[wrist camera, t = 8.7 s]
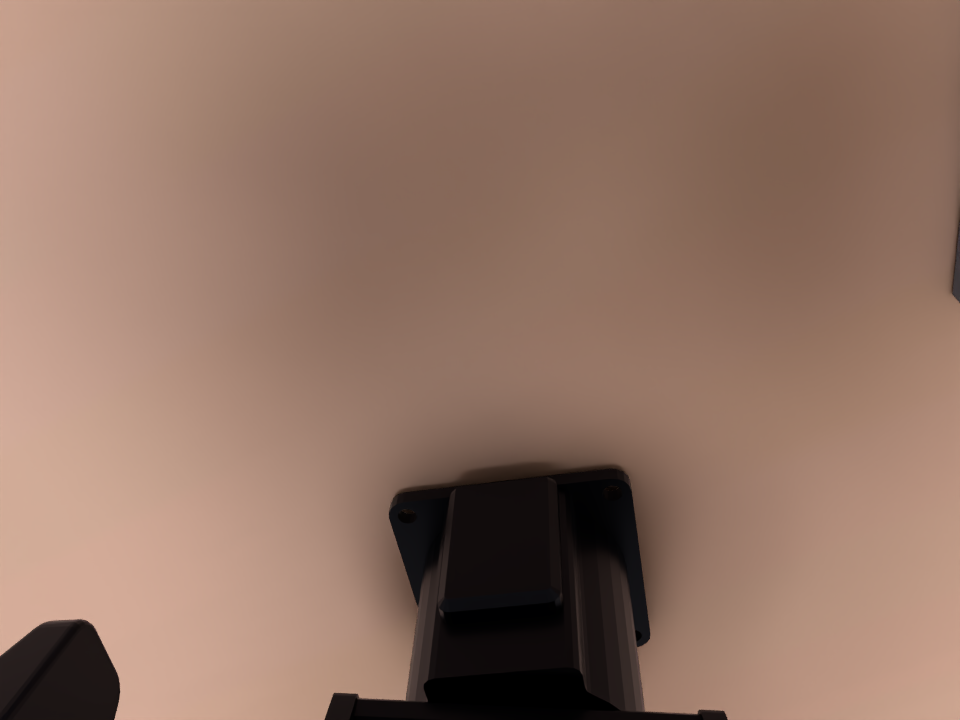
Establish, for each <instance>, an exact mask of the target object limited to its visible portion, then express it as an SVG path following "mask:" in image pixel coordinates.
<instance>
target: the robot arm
mask: <svg viewBox="0 0 960 720" xmlns="http://www.w3.org/2000/svg"><path fill="white" fill-rule="evenodd" d="M609 486H617V487H619V488H618V489H616V490H613V491H608V490H606V489H605V488H606V487H609ZM404 509H408V510H412V511H414V513H405V512H403V511H402V510H404ZM389 519H390V522H391V525H392V528H393V532H394V535H395V538H396V541H397V544H398V547H399V550H400V553H401V556H402V559H403V562H404V566H405V569H406V572H407V575H408V578H409V581H410V584H411V587H412V590H413V593H414V597H415V600H416V603H417V606H418V614H417V621H416V628H415V635H414V643H413V650H412V657H411V664H410V672H409V679H408V686H407V693H406V701H405V700H384V699H362V698H359V695H358V694H347V693H334V694H333V697H332V700H331V703H330V705H329V708H328V711H327V714H326V717H325V720H728V719H727V717H726V714H725V712H724V711H714V710H699V711H698V714H685V713H664V712H645V707H644V699H643V691H642V683H641V675H640V668H639V660H638V652H637V647H639V646H642V645H644V644H645V643H647V642H648V640H649V639H650V628H649V620H648V613H647V605H646V597H645V590H644V582H643V574H642V567H641V559H640V551H639V543H638V536H637V528H636V520H635V513H634V505H633V497H632V490H631V483H630V479H629V477H628V475H627V474H625V473H624V472H623V471H621V470H618V469H603V470H594V471H586V472H577V473H568V474H560V475H551V476H543V477H534V478H525V479H517V480H508V481H499V482H491V483H482V484H474V485H465V486H456V487H448V488H439V489H431V490H422V491H413V492H405V493H401V494H398V495H397V496H395V497H394V498H393V500H392V502H391V505H390V510H389ZM119 696H120V683H119V678H118V674H117V672H116V670H115V668H114V666H113V664H112V662H111V660H110V658H109V656H108V654H107V652H106V650H105V647H104V645H103V643H102V641H101V639H100V637H99V635H98V633H97V631H96V629H95V628H94V626H93V625H92V624H90V623H89V622H88V621H86V620H82V619H77V620H58V621H48V622H45V623H43V624H41V625H39V626H38V627H36V628H35V629H33V630H32V631H31V632H30V633H28V634H27V635H26V636H25V637H23V638H22V639H21V640H20V641H18V642H17V643H16V644H15V645H13V646H12V647H11V648H10V649H9V650H7V651H6V652H5V653H4V654H2V655H1V656H0V720H114V719H115V715H116V711H117V707H118V702H119Z"/></svg>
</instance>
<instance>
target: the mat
mask: <svg viewBox="0 0 960 720" xmlns="http://www.w3.org/2000/svg"><path fill="white" fill-rule="evenodd" d="M952 294H953V295H954V297H955V298H956V299H957V300H958V301H959V302H960V224H959V234H958V244H957V254H956V264H955V274H954V283H953V293H952Z"/></svg>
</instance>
